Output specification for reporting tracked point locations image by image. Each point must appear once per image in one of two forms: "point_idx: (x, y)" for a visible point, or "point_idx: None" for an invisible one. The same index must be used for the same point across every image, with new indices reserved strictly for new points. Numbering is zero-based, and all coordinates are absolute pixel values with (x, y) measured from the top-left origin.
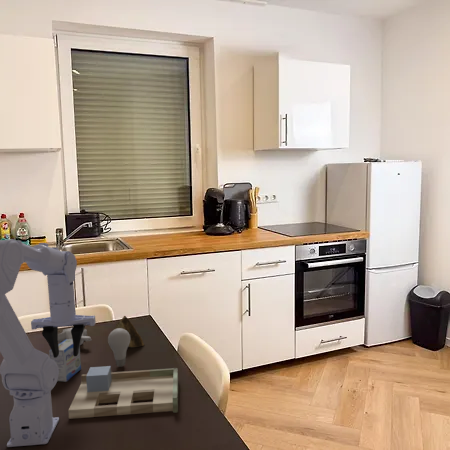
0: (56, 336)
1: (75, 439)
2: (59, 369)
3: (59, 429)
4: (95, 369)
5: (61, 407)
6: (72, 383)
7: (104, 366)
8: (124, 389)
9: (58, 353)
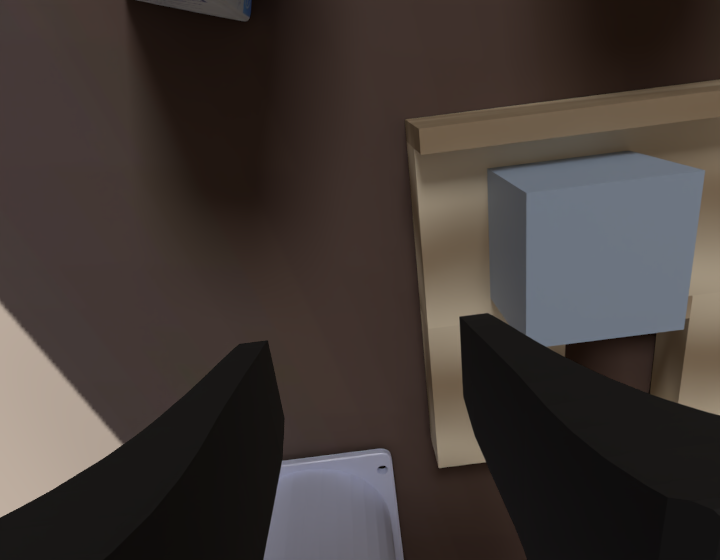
0: (212, 530)
1: (500, 553)
2: (171, 1)
3: (415, 503)
4: (579, 236)
5: (355, 347)
6: (305, 47)
7: (650, 178)
8: (715, 268)
9: (269, 363)
